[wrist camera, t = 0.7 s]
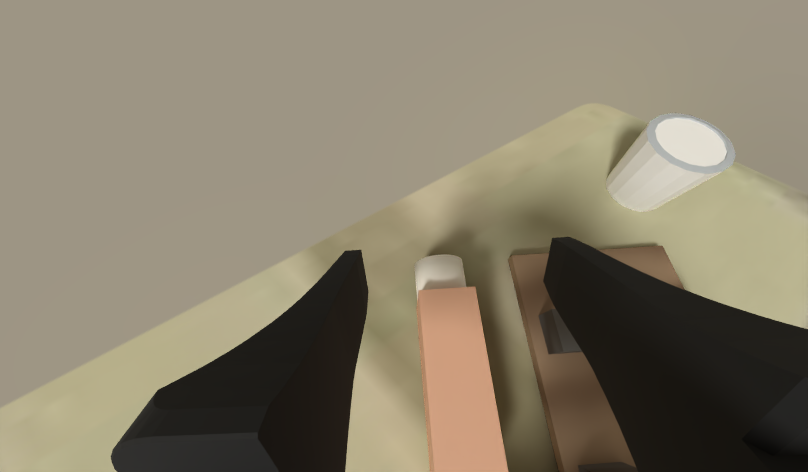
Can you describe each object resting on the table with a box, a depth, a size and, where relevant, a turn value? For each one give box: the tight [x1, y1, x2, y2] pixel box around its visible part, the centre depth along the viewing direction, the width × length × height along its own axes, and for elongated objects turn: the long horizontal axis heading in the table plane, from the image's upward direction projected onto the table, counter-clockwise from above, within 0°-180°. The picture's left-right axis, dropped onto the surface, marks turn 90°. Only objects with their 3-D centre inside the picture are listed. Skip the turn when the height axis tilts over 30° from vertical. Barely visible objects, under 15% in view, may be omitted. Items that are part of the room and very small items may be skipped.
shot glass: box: [606, 113, 735, 212], centre depth 28 cm, size 7×7×7 cm
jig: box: [508, 246, 684, 472], centre depth 21 cm, size 24×14×4 cm, turn 4°
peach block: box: [414, 254, 508, 472], centre depth 21 cm, size 15×4×6 cm, turn 4°
